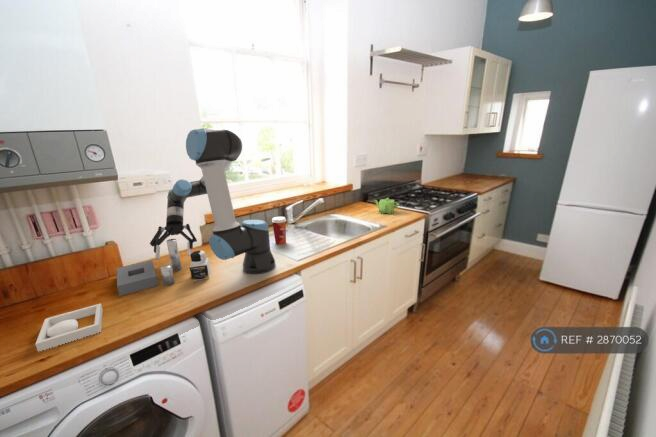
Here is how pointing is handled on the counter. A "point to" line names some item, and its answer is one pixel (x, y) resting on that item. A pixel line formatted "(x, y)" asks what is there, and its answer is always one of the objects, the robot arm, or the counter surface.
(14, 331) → the counter surface
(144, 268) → the bored block
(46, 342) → the grey rectangular frame
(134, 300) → the counter surface
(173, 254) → the tall steel pin
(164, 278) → the silver upright block
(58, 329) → the white rounded block
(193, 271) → the medicine bottle
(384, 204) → the kettle
